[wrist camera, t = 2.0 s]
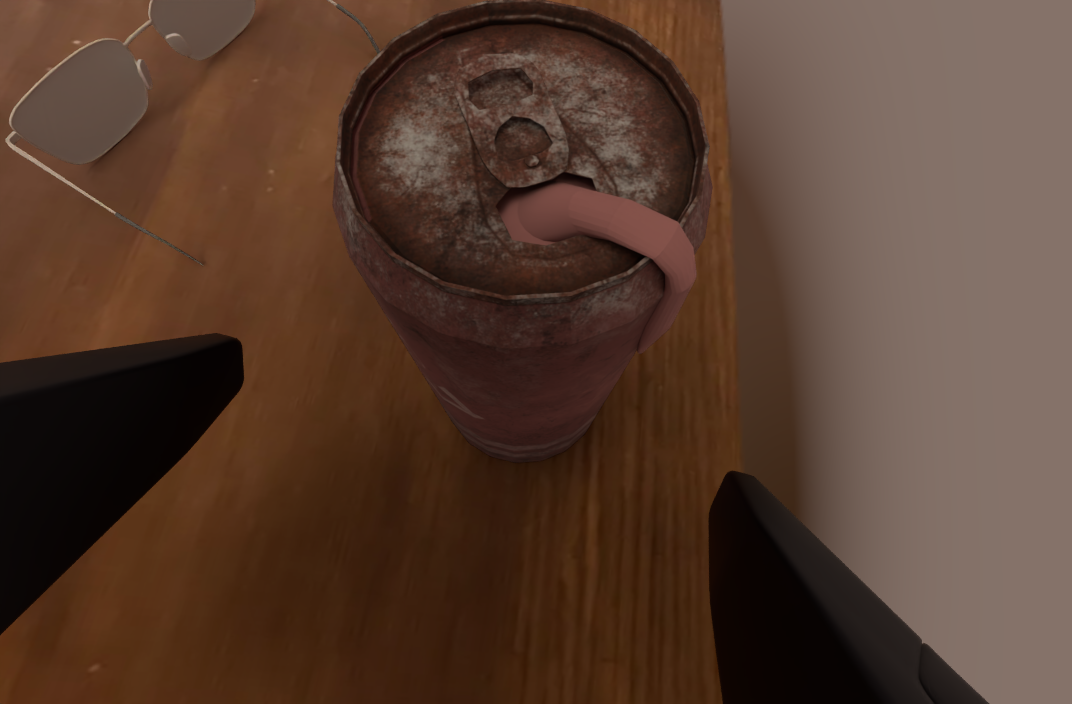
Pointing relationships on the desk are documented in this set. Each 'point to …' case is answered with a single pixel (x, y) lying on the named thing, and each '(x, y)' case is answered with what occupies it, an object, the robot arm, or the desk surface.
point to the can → (523, 210)
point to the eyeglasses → (119, 84)
